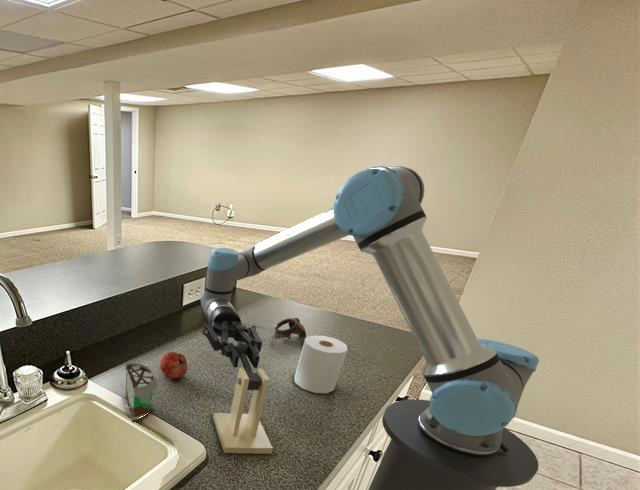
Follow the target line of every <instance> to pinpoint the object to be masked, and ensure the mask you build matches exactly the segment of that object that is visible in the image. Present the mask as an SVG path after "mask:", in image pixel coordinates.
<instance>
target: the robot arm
mask: <svg viewBox="0 0 640 490" xmlns="http://www.w3.org/2000/svg"><path fill="white" fill-rule="evenodd" d="M424 197H425V184H424V180H423V178H422V177H421V176H420V175H419V173H418V172H417V171H415V170H413V168H410V167H407V166H401V165H400V166H399V165H396V166H395V165H394V166H384V165H377V166H371V167H368V168H366V169H363V170H361V171H358V172H357V173H354V174H353V175H352V176H351V177H349V178H348V179H347V180H346V181H345V182H344V183H343V184H342V185H341V186H340V188H339V190H338V191H337V193H336V195H335V199H334V201H333V207H331V208H329V209H327V210H324V211H323V212H321V213H319V214H317V215H315V216H313V217H311V218H309V219H307V220H305V221H303V222H301V223H299V224H296V225H294V226H293V227H290V228H288V229H287V230H284V231H282V232H280V233H278V234H276V235H273V236H272V237H269V238H268V239H266V240H263V241H262V242H259V243H257V244H256V245H253V246H251V247H249V248H247V249H244V250H243V251H239V252H238V251H237V250H235V249H233V248H229V247H217V248H213V249H212V250H211V251H210V253H209V258H208V263H207V270H206V279H205V288H204V292H202V294H201V297H200V306H201V310H202V311H203V313H204V315H205V317H206V319H207V321H208V323H209V324H208V323H204V324H203V328H202V335H203V336H205V338H206V339H207V341H208V342H209V344H210V346H211V348H212V350H213V351H214V352H218V351H219V350H220V351H221V353H220V354H221V356H224V357H225V358H228V359H229V360H230V363H231V365H232V366H233V368H239V367H238V366H239V362H240V358H239V355H238V353H237V351H236V349H235V347H234V343H233V342H229V339H230V338H231V339H233V340H234V341H235V343H237V342H244V343H246V344H247V345H248V348H249V351H248V354H247V355H246V357H247V359H248V361H249V363H250V364H251V366H252V367H253V369H258V367H259V361H260V358H261V357H260V355H259V354H260V353H261V350H262V346H263V340H262V338H261V336H260V334H259V333H258V331H257V326H256V325H251V326H249V327H247V326H246V325H245V324H244V323H242V320H241V317H240V315H239V314H238V312H237V310H236V308H235V307H234V306H233V304H232V303H231V301H232V296H233V290H234V284H235V282H238V281H240V280H243V279H246V278H250V277H255V276H257V275H259V274H262V272H264V271H266V270H269V269H271V268H273V267H276V266H279V265H281V264H283V263H285V262H288V261H290V260H293V259H296V258H298V257H300V256H302V255H305V254H307V253H309V252H312V251H316V249H320V248H321V247H324V246H326V245H329V244H331V243H334V242H336V241H338V240H341V239H345V238H346V237H349V236H352V237H353V239H354V242H355V243H356V245H357V247H358V248H359V251H360V252H362V253H365V254H368V255H371V256H372V257H373V259H374V260H375V262H376V265H377V267H378V268H379V270H380V272H381V274H382V276H383V278H384V281H385V283H386V284H387V286H388V289H389V290H390V292H391V294H392V296H393V298H394V300H395V302H396V304H397V306H398V309H399V310H400V312H401V314H402V316H403V318H404V320H405V322H406V324H407V326H408V328H409V330H410V332H411V334H412V335H413V338H414V339H415V342H416V344H417V345H418V347H419V349H420V352H421V353H422V355H423V358H424V360H425V361H426V364H425V366H424V368H423V370H422V372H421V374H422V375H423V378H424V379H425V382H426V384H427V386H428V387H429V390H430V392H431V396H430V398H429V401H430V406H429V407H428V408H427V409H426V410H425V411H423V413H422V414H421V415H420V417H419V419H418V421H417V426H418V428H419V430H420V431H421V432H422V433H423V434H424V435H425V436H426V437H427V438H428V439H430V440H431V441H433V442H434V443H436V444H438V445H440V446H441V447H444V448H446V449H448V450H450V451H453V452H456V453H459V454H462V455H466V456H472V457H490V456H493V455H495V454H496V453H497V451H498V449H499V448H501V449H502V450H503V451H504V452H508V451H509V450H508V449H507V448H506V447H505V446H504V445H503V444H502V443H501V441H502V431H503V428H506V427H507V426H508V425H509V424H510V423H511V421H512V420H513V419H515V417H516V414H517V411H518V406H519V405H520V404H519V403H520V401H521V398H522V395H523V393H524V390H525V387H526V385H527V384H528V382H529V380H530V379H531V377H532V375H533V374H534V373H535V372H536V371H537V367H538V365H539V363H540V361H539V357H538V356H537V355H536V354H535V353H533V352H531V351H529V350H527V349H523V348H521V347H518V346H515V345H512V344H508V343H505V342H502V341H501V342H500V341H498V340H497V341H496V340H491V339H486V338H485V339H484V338H478V337H477V335H476V333H475V331H474V329H473V327H472V325H471V323H470V322H469V320H468V318H467V316H466V314H465V312H464V310H463V308H462V306H461V304H460V302H459V300H458V298H457V297H456V294H455V293H454V290H453V288H452V287H451V285H450V283H449V280H448V279H447V277H446V275H445V273H444V271H443V269H442V267H441V265H440V263H439V261H438V260H437V256H436V255H435V254H434V251H433V250H432V248H431V246H430V244H429V242H428V240H427V237H426V236H425V234H424V232H423V228H424V226H425V224H426V222H427V220H428V217H427V215H426V213H425V211H424V209H423V207H422V203H423V200H424Z"/></svg>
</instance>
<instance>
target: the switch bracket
mask: <svg viewBox="0 0 640 490" xmlns="http://www.w3.org/2000/svg"><path fill="white" fill-rule="evenodd" d="M256 373H258V376H259V378H260V381H261V382H260V385H259V389H258V390H252V396H251V400H250V403H249V404H250V405H249V409H248V412H247V413H243V411H244V407H245V402H246V397H247V392H248V390H247V388H248V384H249V377H248V375H247V374H246V372H245V370H244V367H238V372H237V377H236V382H235V387H234V393H233V397H232V403H231V408H230V413H229V412H228V413H227V412H213V416H212V419H213V422H214V426H215V428H216V431H217V435H218V438H219V441H220V444H221V448H222V451H223V454H258V455H259V454H260V455H262V454H265V455H267V454H268V455H272V454H273V450H274V447H273V445H272V443H271V441H270V439H269V437H268V435H267V432H266V430H265V428H264V426H263V424H262V421H261V418H262V413H263V408H264V404H265V400H266V397H267V393H268V388H269V384H270V378H269V376H268V374H267V373H266V371H265V370H264V368H257V372H256Z"/></svg>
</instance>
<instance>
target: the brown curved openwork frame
mask: <svg viewBox="0 0 640 490" xmlns="http://www.w3.org/2000/svg"><path fill="white" fill-rule="evenodd" d="M287 324H288V327H289V328H286V329H279V328H281V327H282V326H284V325H287ZM274 330H275V331H274V335H273V336H274V337H275V338H278V339H285V338H287V339H289V340H291V338H292V337H291V336H292V334H293V335H297V336H298V339H301V340H302V346H303V345H304V341H305V338H307V331H306V329H305V326H304V325H303V324H302V323H301V321H300V319H299V318H298V317H294V318H293V317H291V318H290V317H289V318H285V319H283V320H280V321H279V322H278V323H277V324H276V326H275V327H274Z"/></svg>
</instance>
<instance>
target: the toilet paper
mask: <svg viewBox="0 0 640 490" xmlns="http://www.w3.org/2000/svg"><path fill="white" fill-rule="evenodd" d="M347 353H348V346H347V344H346V343H344V342H343V341H341V340H340V339H337V338H333V337H330V336H327V335H310V336H306V338H305V341H304V345H303V344H302V349H301V352H300V355H299V360H298V363H297V366H296V371H295V374H294V383H295V384H296V385H297V386H298V387H300V388H301V389H302V390H306V391H308V392H311V393H314V394H329V393H331V392H333V391H335V389H336V385H337V383H338V380H339V377H340V374H341V371H342V369H343V365H344V362H345V360H346V357H347Z"/></svg>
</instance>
